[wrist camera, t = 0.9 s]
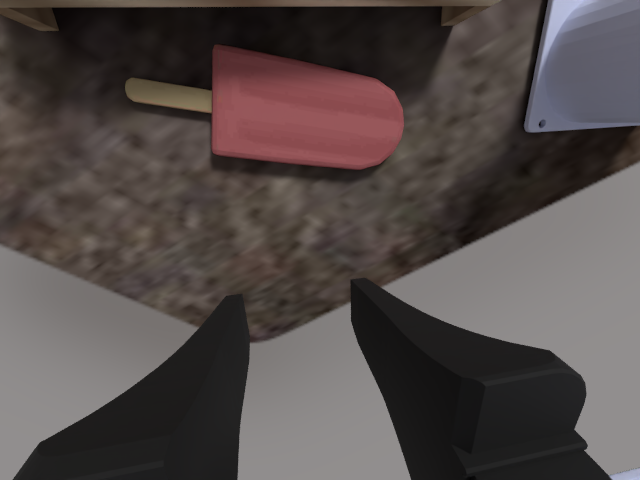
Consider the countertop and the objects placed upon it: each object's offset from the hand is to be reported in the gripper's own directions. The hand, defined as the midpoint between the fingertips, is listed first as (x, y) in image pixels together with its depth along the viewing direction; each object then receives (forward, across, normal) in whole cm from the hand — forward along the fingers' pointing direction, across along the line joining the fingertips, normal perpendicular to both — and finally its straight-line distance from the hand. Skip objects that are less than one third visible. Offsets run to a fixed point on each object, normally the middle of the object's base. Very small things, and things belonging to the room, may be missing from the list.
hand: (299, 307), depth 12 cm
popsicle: (+9, 0, -8) cm, 12 cm away
